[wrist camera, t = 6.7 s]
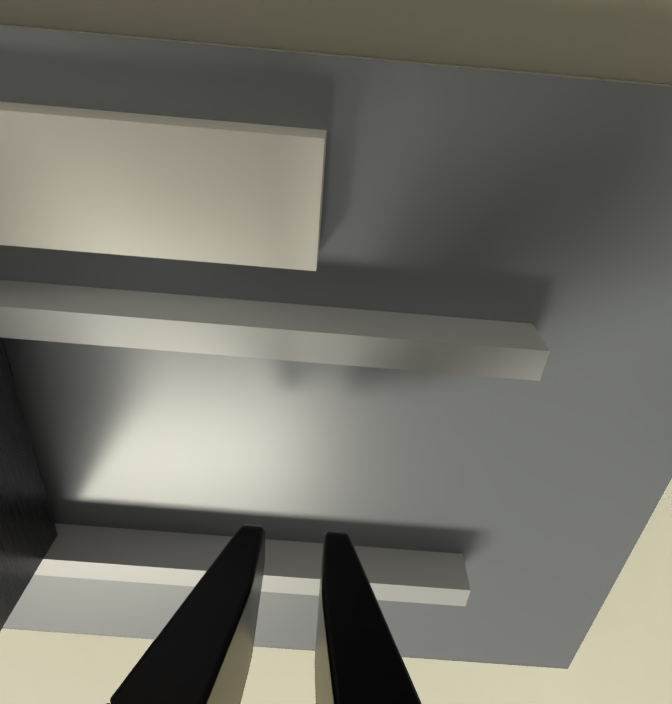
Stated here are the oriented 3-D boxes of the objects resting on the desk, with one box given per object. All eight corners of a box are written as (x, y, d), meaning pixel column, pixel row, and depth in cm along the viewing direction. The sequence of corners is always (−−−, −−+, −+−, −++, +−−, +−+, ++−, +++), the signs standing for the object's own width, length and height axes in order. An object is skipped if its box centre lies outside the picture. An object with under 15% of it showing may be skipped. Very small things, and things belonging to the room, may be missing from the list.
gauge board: (823, 98, 9) (1288, 157, 4) (556, 635, 16) (629, 849, 12) (-693, -39, 8) (-1828, -121, 4) (-236, 578, 16) (-454, 777, 12)
